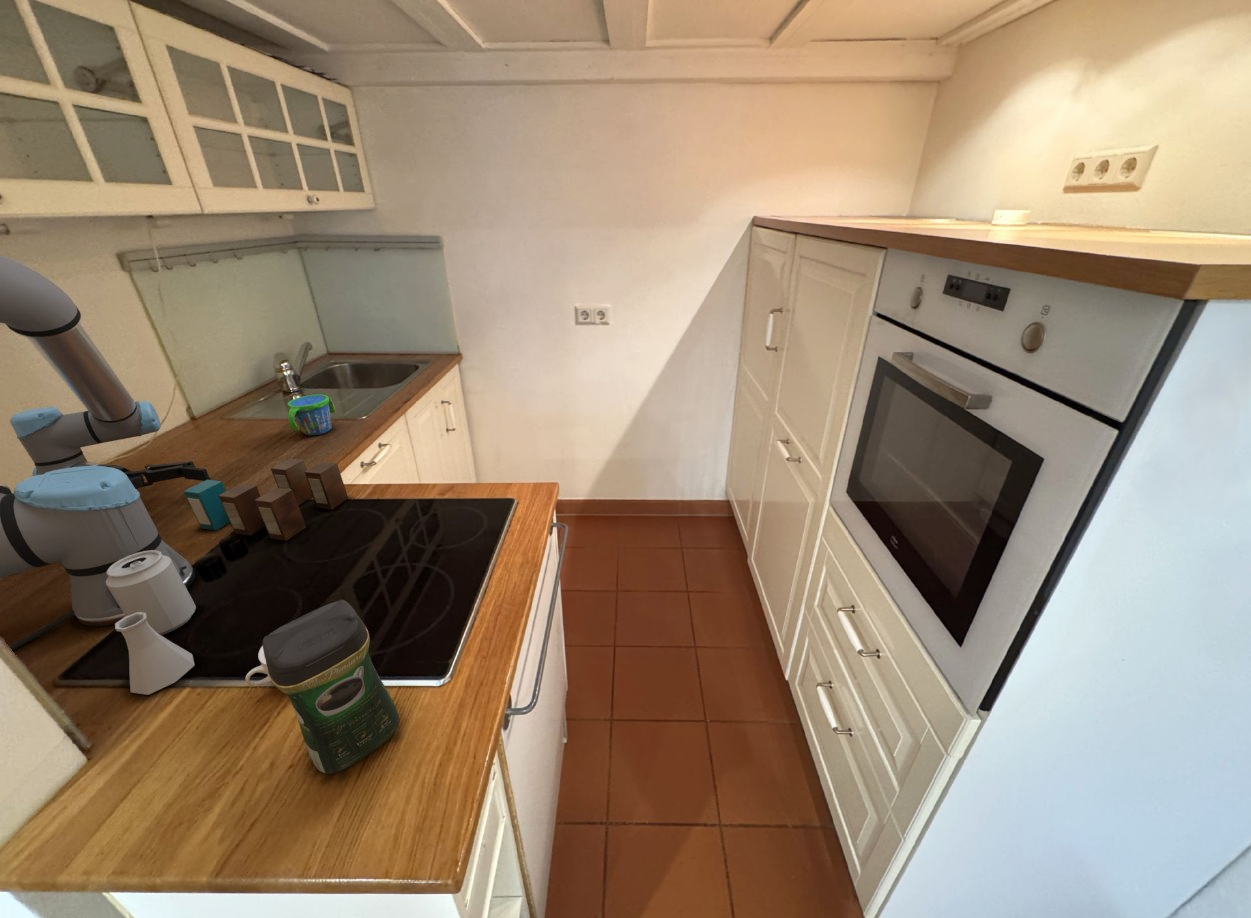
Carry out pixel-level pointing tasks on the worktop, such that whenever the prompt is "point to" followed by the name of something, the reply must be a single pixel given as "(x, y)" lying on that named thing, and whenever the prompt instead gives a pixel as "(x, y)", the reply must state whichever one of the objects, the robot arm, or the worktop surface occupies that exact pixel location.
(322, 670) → the coffee jar
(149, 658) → the flask
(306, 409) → the snack cup
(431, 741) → the worktop surface
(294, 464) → the brown rectangular box
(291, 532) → the brown wooden block
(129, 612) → the can
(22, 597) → the worktop surface
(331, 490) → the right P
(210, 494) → the teal rectangular block
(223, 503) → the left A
